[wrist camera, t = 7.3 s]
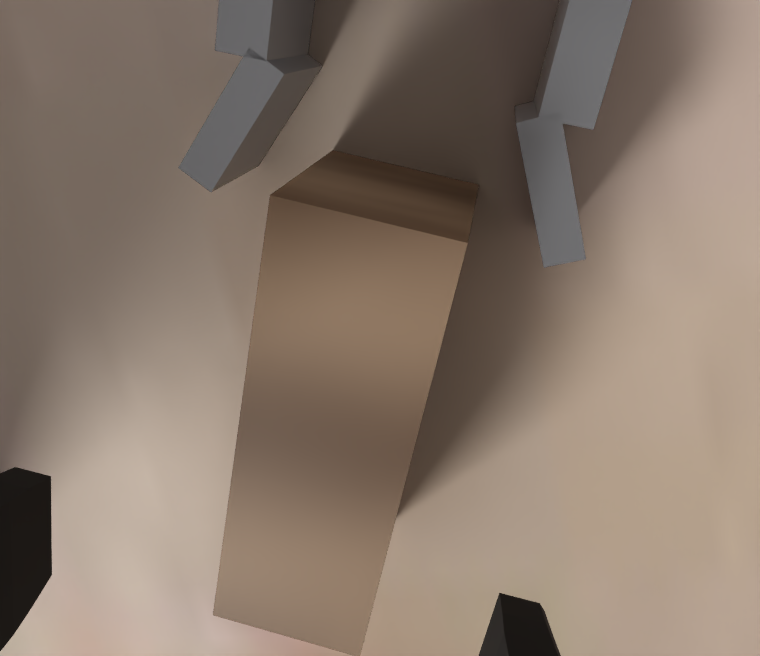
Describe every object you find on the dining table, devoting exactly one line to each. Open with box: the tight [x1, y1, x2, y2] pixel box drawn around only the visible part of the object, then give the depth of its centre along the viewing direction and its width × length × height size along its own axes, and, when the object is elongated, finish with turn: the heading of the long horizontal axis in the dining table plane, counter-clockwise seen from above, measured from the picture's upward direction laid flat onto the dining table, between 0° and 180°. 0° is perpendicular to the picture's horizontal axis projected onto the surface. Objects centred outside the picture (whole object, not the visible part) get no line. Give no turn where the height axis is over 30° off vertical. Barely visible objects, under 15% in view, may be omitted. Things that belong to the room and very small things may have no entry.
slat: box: [213, 150, 479, 656], centre depth 17 cm, size 10×4×5 cm, turn 169°
